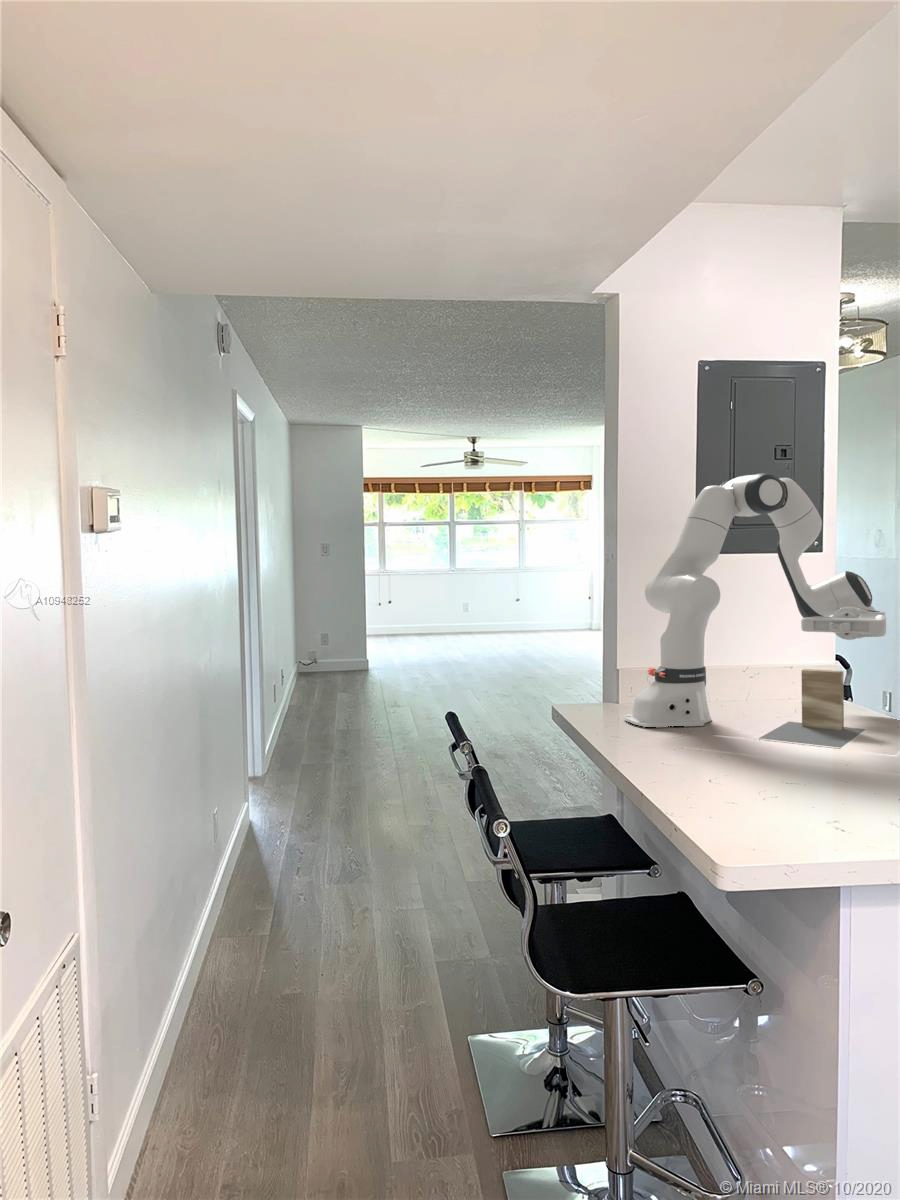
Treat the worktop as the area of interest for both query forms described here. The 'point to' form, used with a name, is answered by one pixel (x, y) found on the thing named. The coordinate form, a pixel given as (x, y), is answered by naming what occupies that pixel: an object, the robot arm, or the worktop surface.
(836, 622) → the robot arm
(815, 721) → the flat wooden block
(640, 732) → the worktop surface
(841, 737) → the rubber mat
